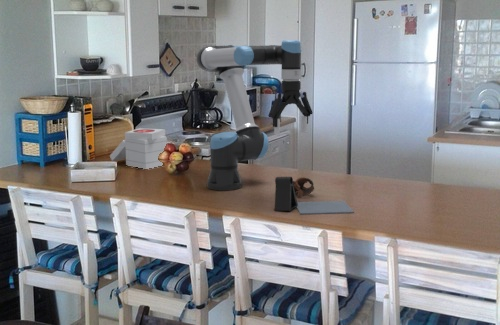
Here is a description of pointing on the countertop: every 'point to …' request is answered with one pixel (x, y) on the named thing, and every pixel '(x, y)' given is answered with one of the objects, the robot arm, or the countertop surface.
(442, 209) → the countertop surface
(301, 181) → the pottery mug
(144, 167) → the pizza boxes
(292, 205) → the phone stand
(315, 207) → the slate mat
